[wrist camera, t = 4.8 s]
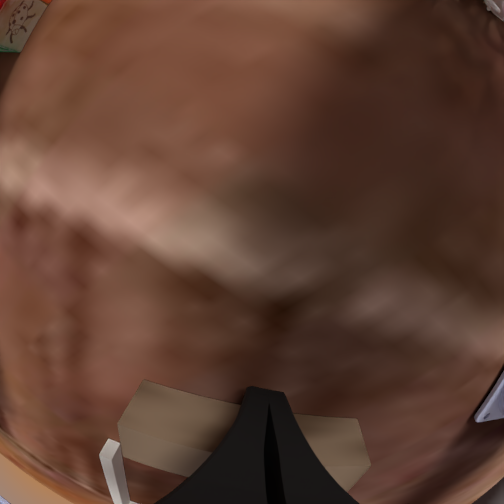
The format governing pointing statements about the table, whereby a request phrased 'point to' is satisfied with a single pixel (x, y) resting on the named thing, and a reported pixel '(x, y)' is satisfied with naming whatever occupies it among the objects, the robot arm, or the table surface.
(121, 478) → the white u-shaped bracket
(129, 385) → the table surface
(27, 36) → the stack of blocks
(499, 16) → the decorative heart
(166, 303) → the table surface
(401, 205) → the table surface
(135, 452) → the walnut T-block
